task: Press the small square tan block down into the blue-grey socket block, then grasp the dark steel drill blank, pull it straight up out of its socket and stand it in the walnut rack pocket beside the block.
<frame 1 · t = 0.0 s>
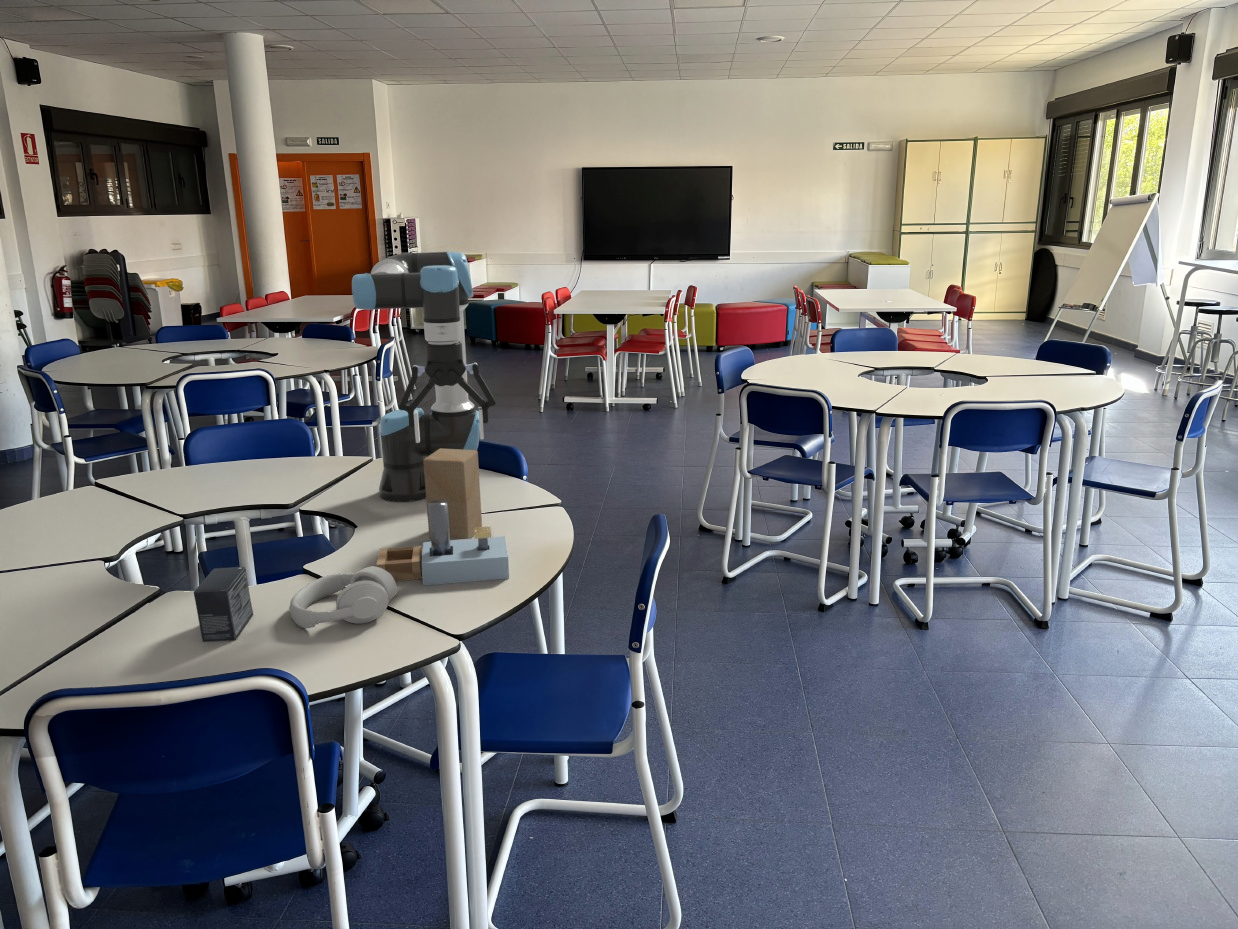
hand: (450, 439, 187), 28 cm above the table, fingers open, 13 cm apart
small square tan block: (482, 542, 188), point 6 cm above the table, slide at 0.0 cm
headphones: (344, 613, 171), on the table
socket block: (466, 570, 189), on the table
small box: (228, 629, 165), on the table
drill blank: (442, 572, 188), resting in socket block
wooden block: (456, 534, 211), on the table
rack: (400, 572, 189), on the table
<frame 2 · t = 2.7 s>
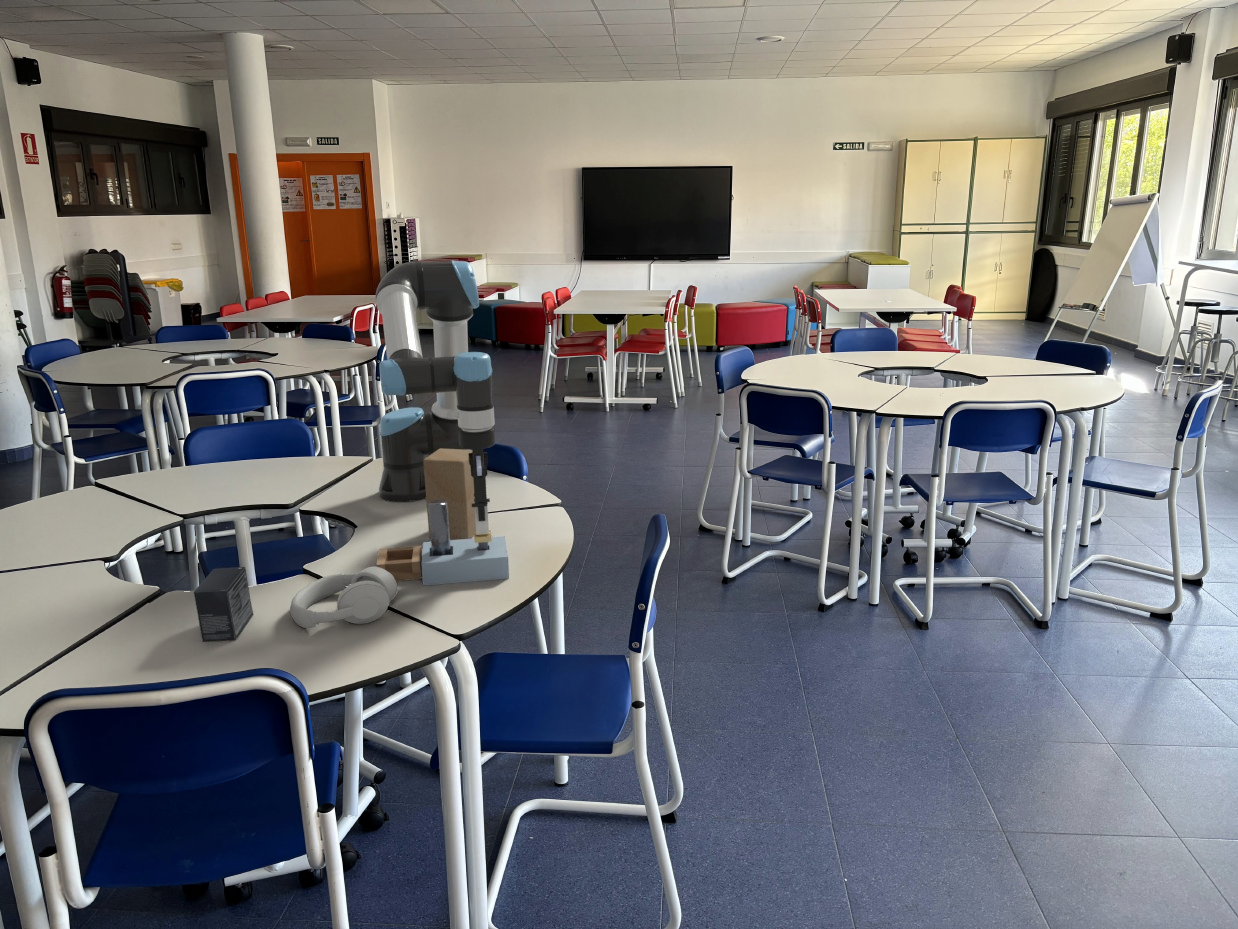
hand: (482, 533, 187), 9 cm above the table, fingers closed
small square tan block: (483, 546, 188), point 5 cm above the table, slide at 1.0 cm, touching gripper
everything else where it was.
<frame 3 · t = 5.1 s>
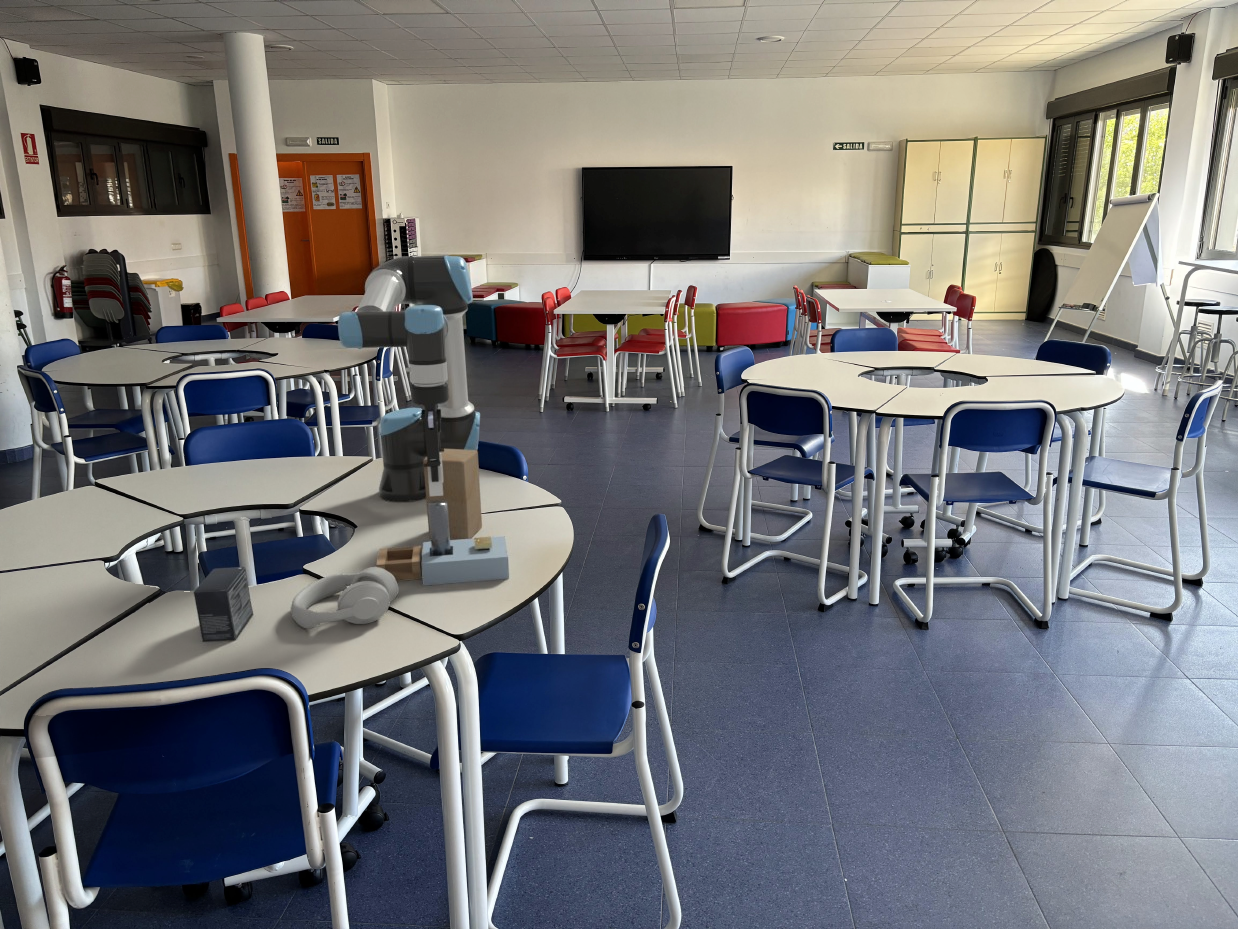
hand: (436, 488, 183), 19 cm above the table, fingers open, 8 cm apart
small square tan block: (483, 552, 189), point 4 cm above the table, slide at 2.4 cm
everything else where it was.
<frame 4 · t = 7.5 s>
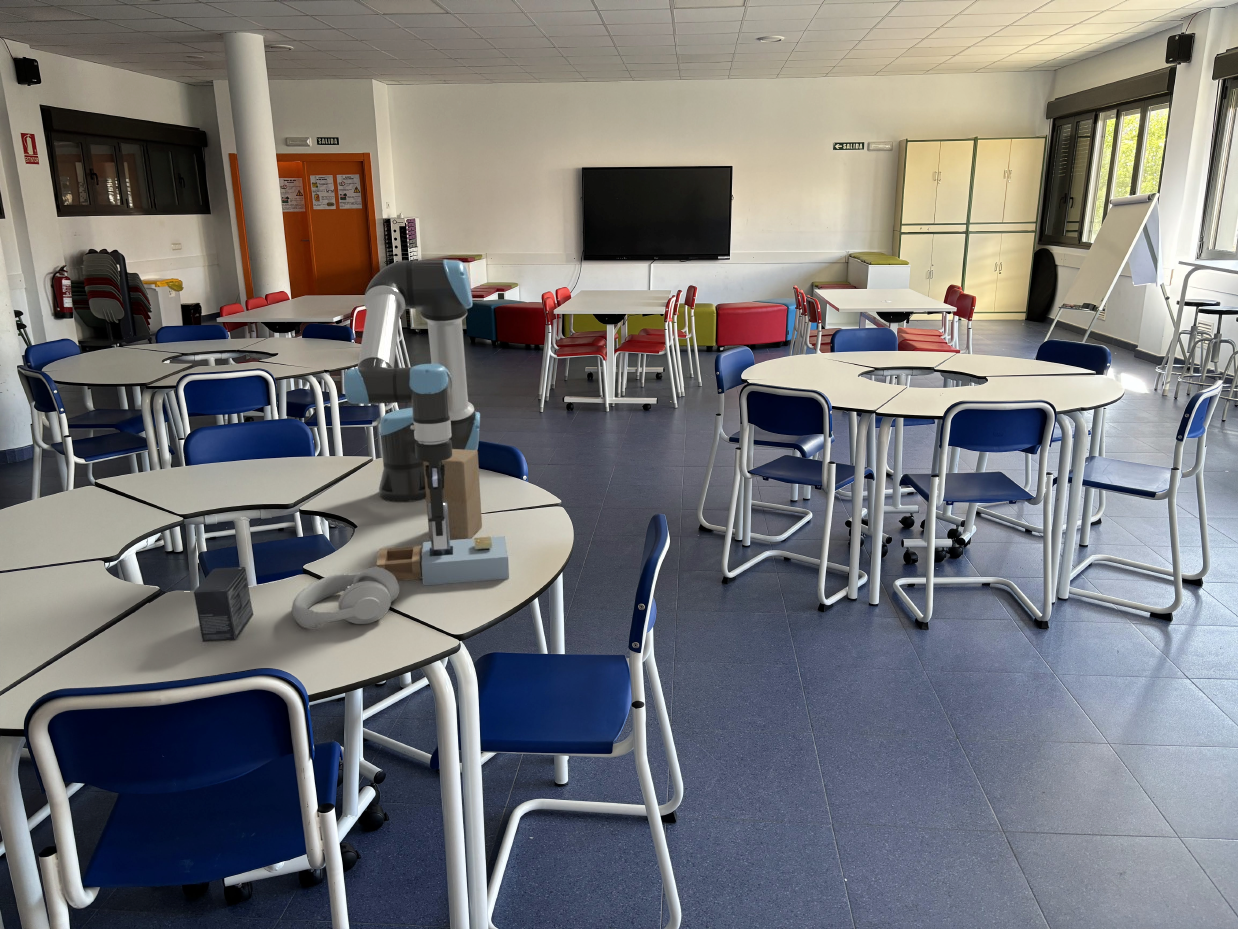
hand: (440, 544, 187), 7 cm above the table, fingers closed on drill blank, 4 cm apart
drill blank: (442, 572, 188), resting in socket block, touching gripper
everything else where it was.
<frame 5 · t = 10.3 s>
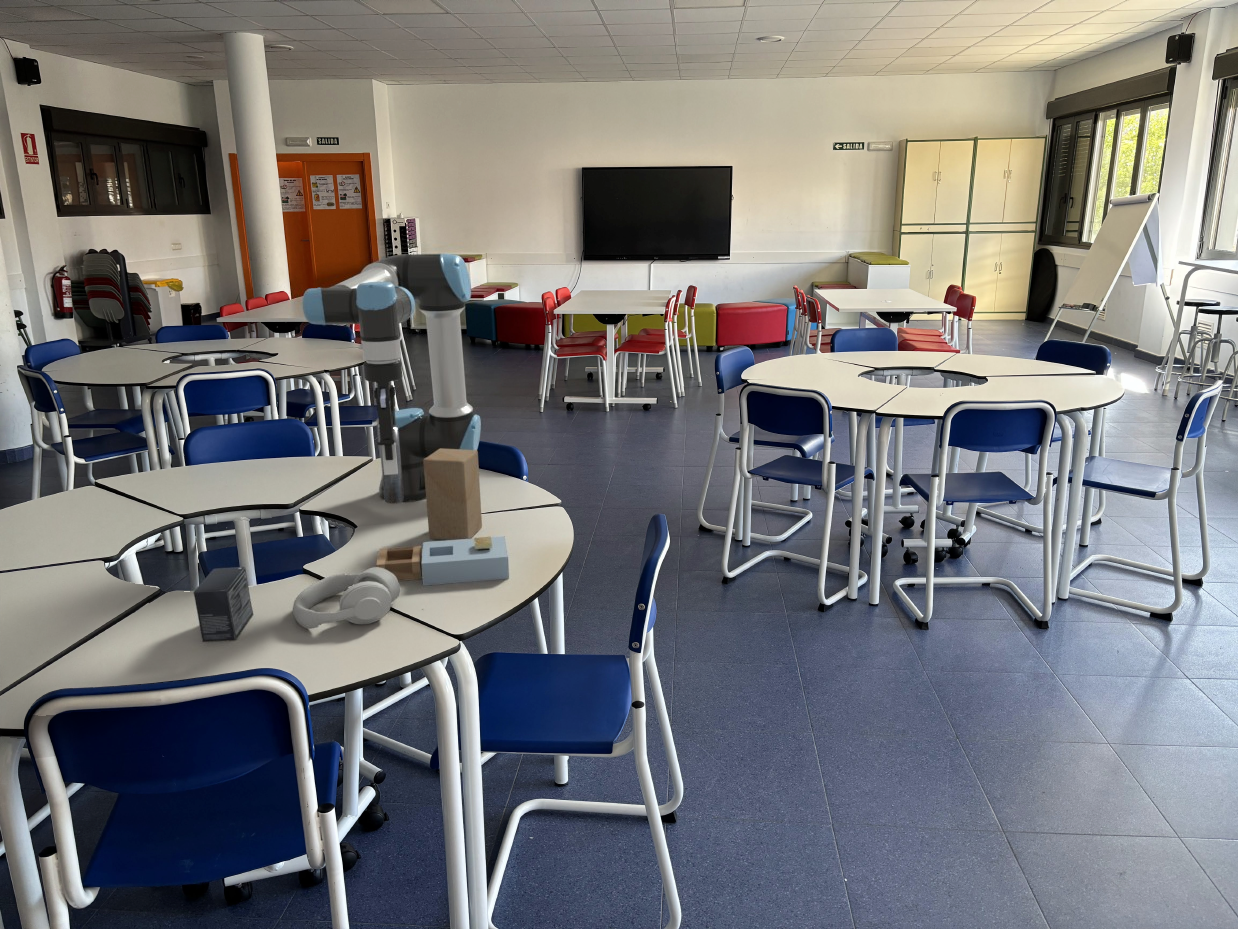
hand: (391, 470, 182), 23 cm above the table, fingers closed on drill blank, 4 cm apart
drill blank: (394, 500, 184), point 17 cm above the table, touching gripper
everything else where it was.
when the fingers open (8 cm above the table, at t = 13.1 s): drill blank drops 1 cm, resting in rack.
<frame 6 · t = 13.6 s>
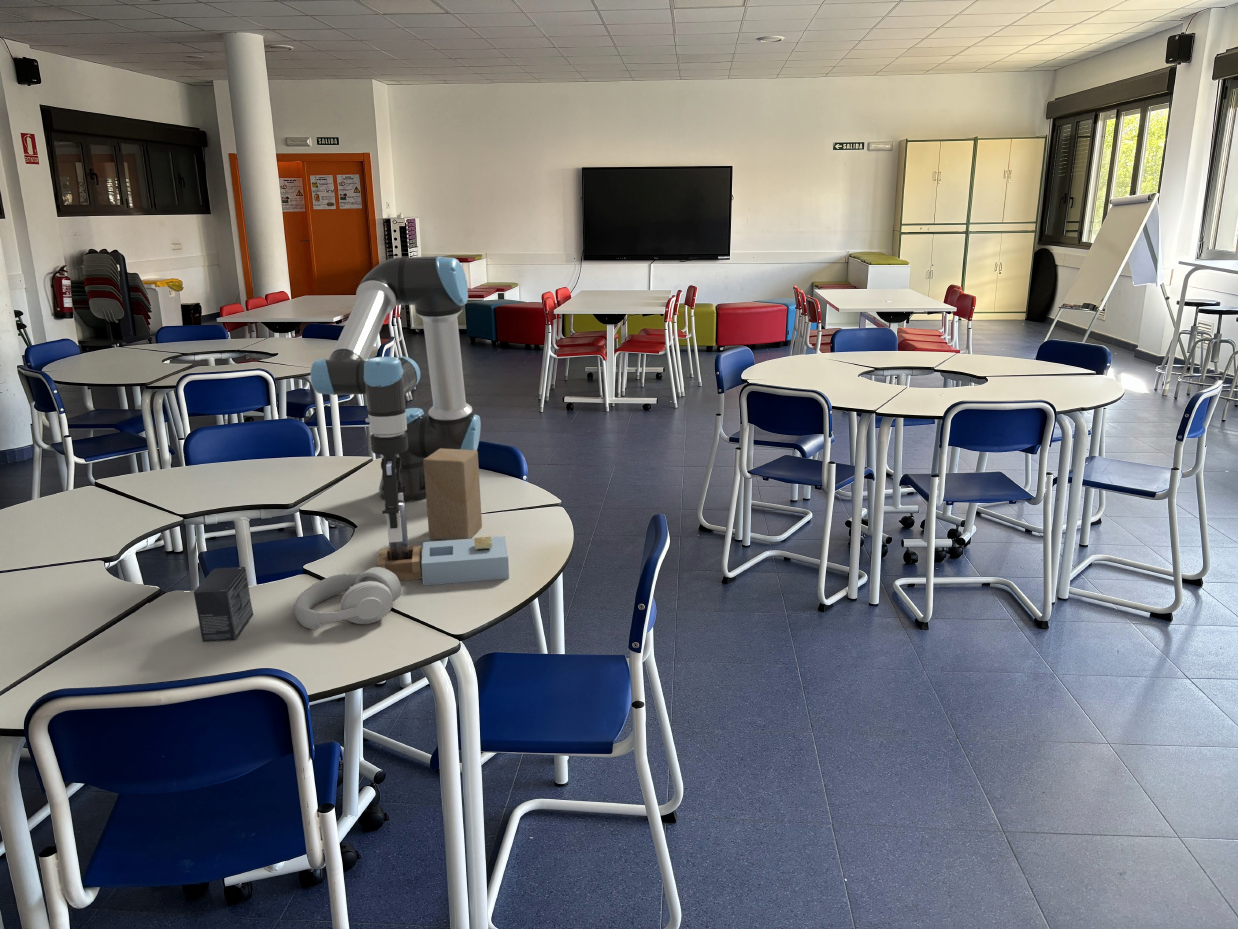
hand: (397, 531, 186), 10 cm above the table, fingers open, 11 cm apart
drill blank: (400, 571, 189), resting in rack
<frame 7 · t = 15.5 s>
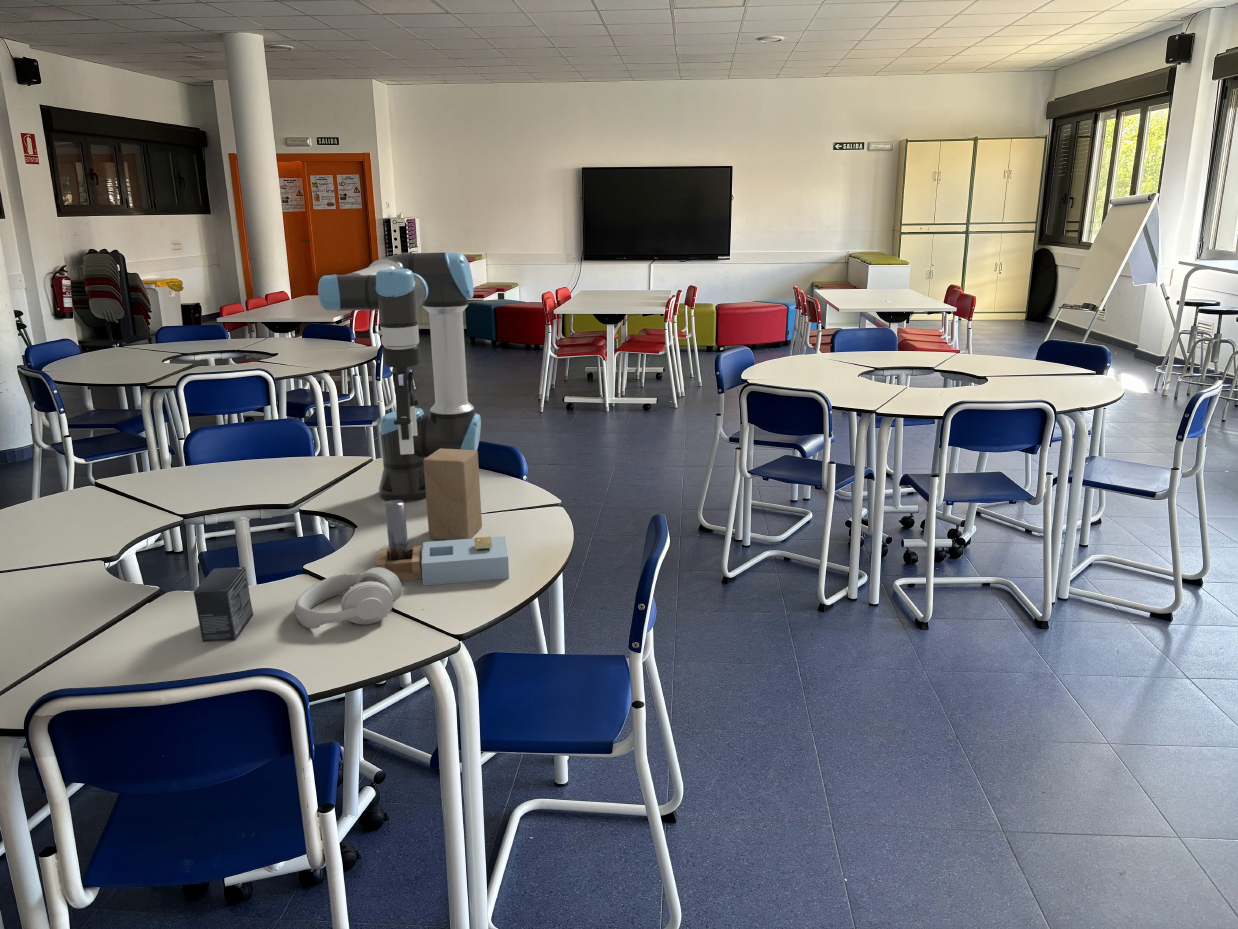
hand: (409, 444, 185), 28 cm above the table, fingers open, 13 cm apart
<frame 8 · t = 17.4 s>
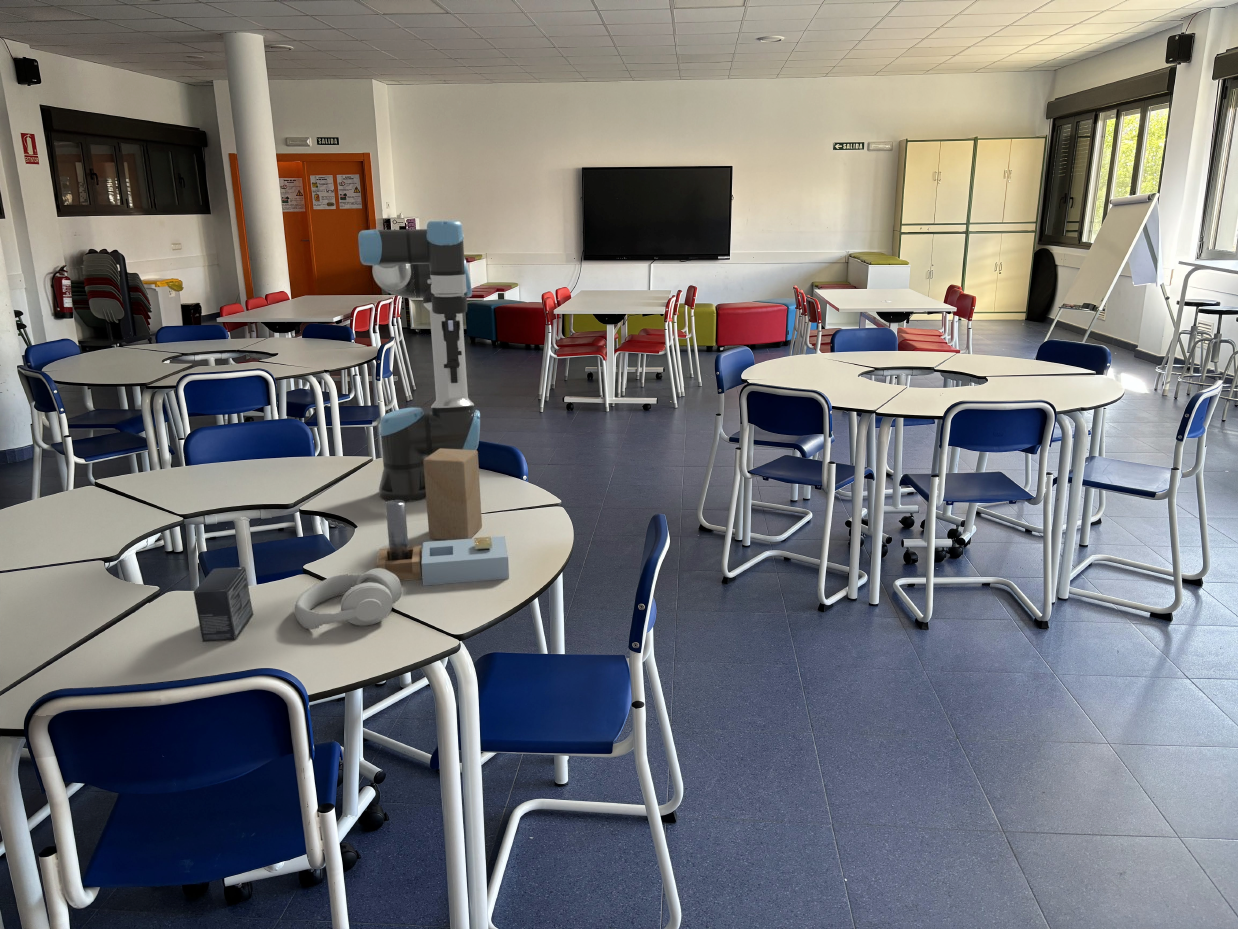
hand: (455, 390, 194), 37 cm above the table, fingers open, 13 cm apart
at the end: drill blank 0.1 cm off-centre on the rack, point 0.0 cm above the rack's base; drill blank tilted 0°; small square tan block slide at 2.4 cm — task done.
